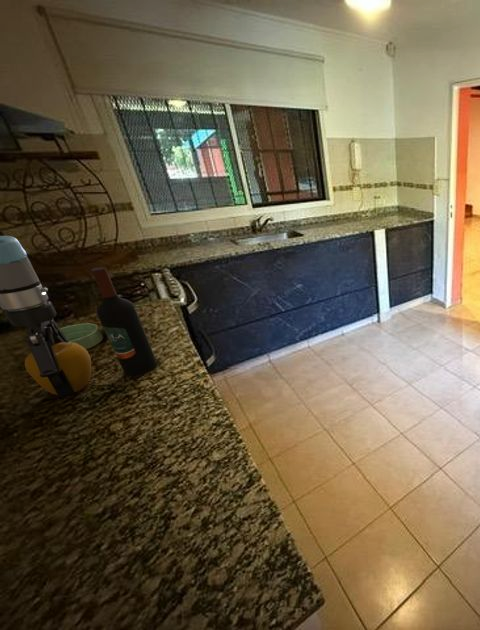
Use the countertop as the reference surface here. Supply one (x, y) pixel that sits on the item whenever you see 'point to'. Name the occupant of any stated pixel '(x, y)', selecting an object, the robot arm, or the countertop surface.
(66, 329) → the bowl
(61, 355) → the apple
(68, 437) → the countertop surface
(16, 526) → the countertop surface
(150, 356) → the wine bottle
